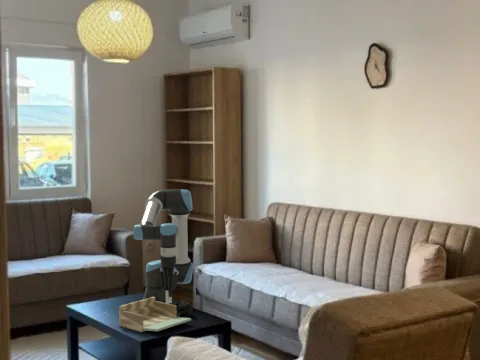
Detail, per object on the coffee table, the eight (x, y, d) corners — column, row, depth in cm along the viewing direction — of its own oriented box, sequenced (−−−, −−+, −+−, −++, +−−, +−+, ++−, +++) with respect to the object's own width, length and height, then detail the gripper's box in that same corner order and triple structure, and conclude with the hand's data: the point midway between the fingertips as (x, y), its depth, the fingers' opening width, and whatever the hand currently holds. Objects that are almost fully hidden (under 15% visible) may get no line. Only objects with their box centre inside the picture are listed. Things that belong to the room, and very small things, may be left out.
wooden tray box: (154, 315, 344) (153, 296, 343) (176, 320, 334) (176, 301, 333) (119, 325, 325) (119, 306, 324) (141, 332, 315) (141, 311, 314)
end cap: (193, 316, 343) (193, 303, 343) (180, 317, 340) (180, 305, 340) (185, 311, 352) (185, 299, 352) (173, 313, 349) (173, 300, 348)
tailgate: (176, 317, 334) (191, 318, 327) (176, 319, 334) (191, 320, 327) (142, 328, 315) (157, 329, 309) (142, 330, 315) (157, 331, 309)
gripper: (153, 255, 319) (153, 302, 321) (172, 258, 311) (173, 307, 313) (164, 252, 325) (164, 299, 327) (183, 256, 317) (183, 303, 319)
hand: (168, 303), depth 320 cm, fingers closed
